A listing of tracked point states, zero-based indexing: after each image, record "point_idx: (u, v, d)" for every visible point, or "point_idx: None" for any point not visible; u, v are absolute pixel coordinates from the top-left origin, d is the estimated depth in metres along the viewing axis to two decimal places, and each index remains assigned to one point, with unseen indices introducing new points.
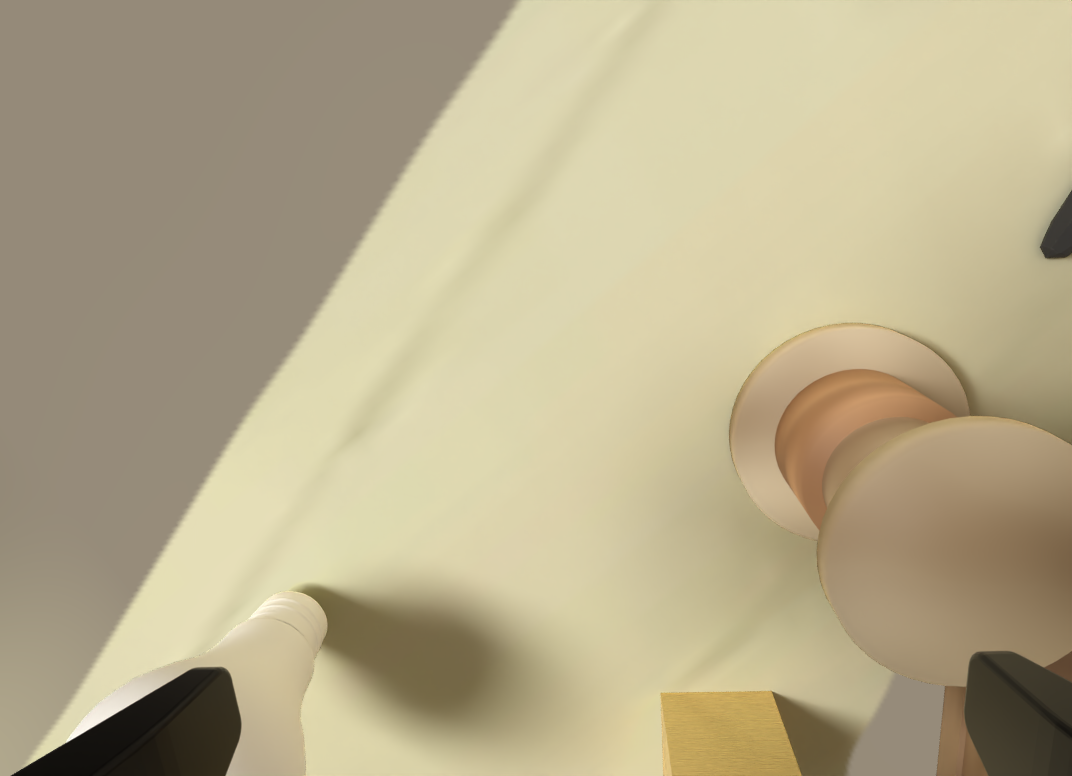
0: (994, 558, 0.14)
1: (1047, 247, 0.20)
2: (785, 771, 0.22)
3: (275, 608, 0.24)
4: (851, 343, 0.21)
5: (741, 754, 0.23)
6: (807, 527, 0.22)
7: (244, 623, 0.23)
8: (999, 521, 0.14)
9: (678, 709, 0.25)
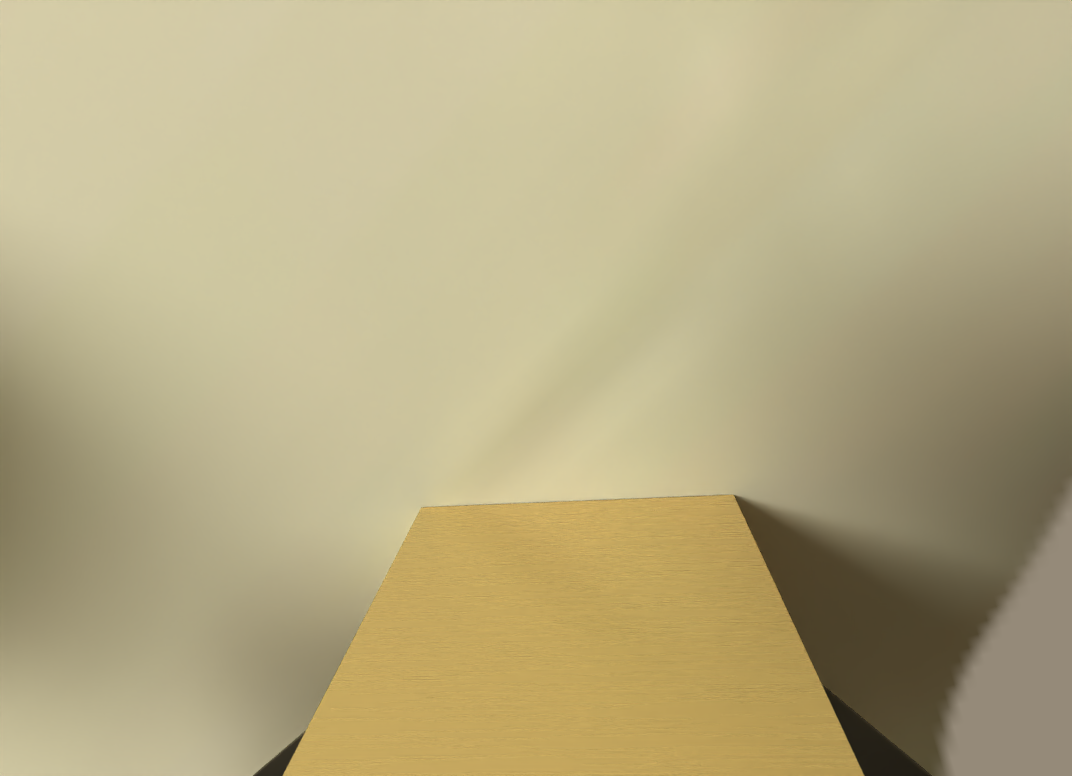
0: None
1: None
2: (767, 700, 0.05)
3: None
4: None
5: (602, 646, 0.06)
6: None
7: None
8: None
9: (450, 538, 0.08)
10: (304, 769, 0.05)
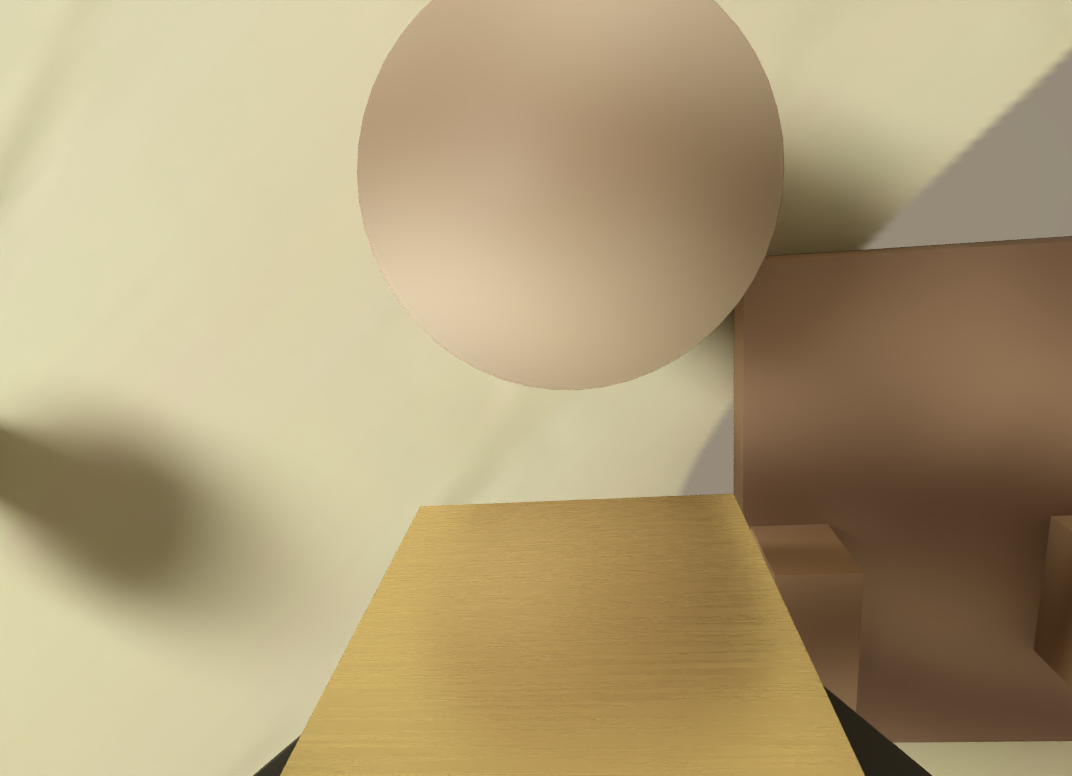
0: (588, 173, 0.10)
1: None
2: (767, 699, 0.05)
3: None
4: None
5: (602, 644, 0.06)
6: None
7: None
8: (587, 109, 0.10)
9: (449, 537, 0.08)
10: (301, 768, 0.05)
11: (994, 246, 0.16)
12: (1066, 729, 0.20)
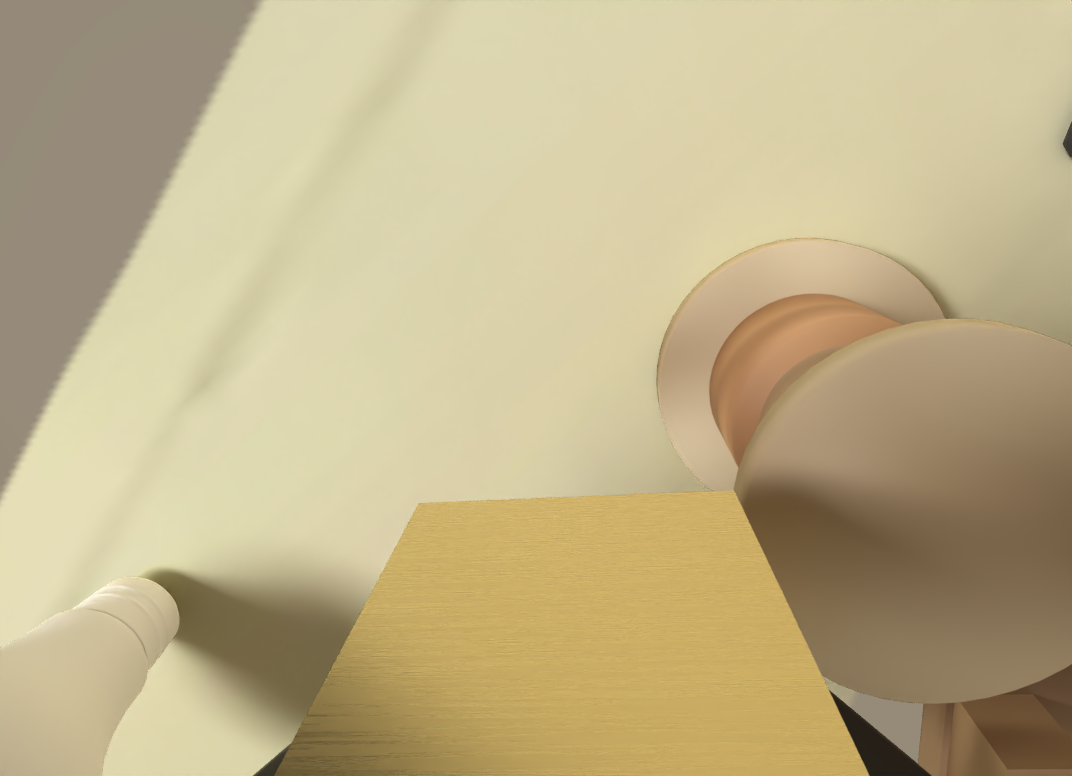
0: (976, 523, 0.10)
1: None
2: (769, 696, 0.05)
3: (104, 597, 0.19)
4: (803, 260, 0.16)
5: (602, 640, 0.06)
6: None
7: (55, 616, 0.18)
8: (984, 469, 0.10)
9: (447, 534, 0.08)
10: (298, 766, 0.05)
11: None
12: None
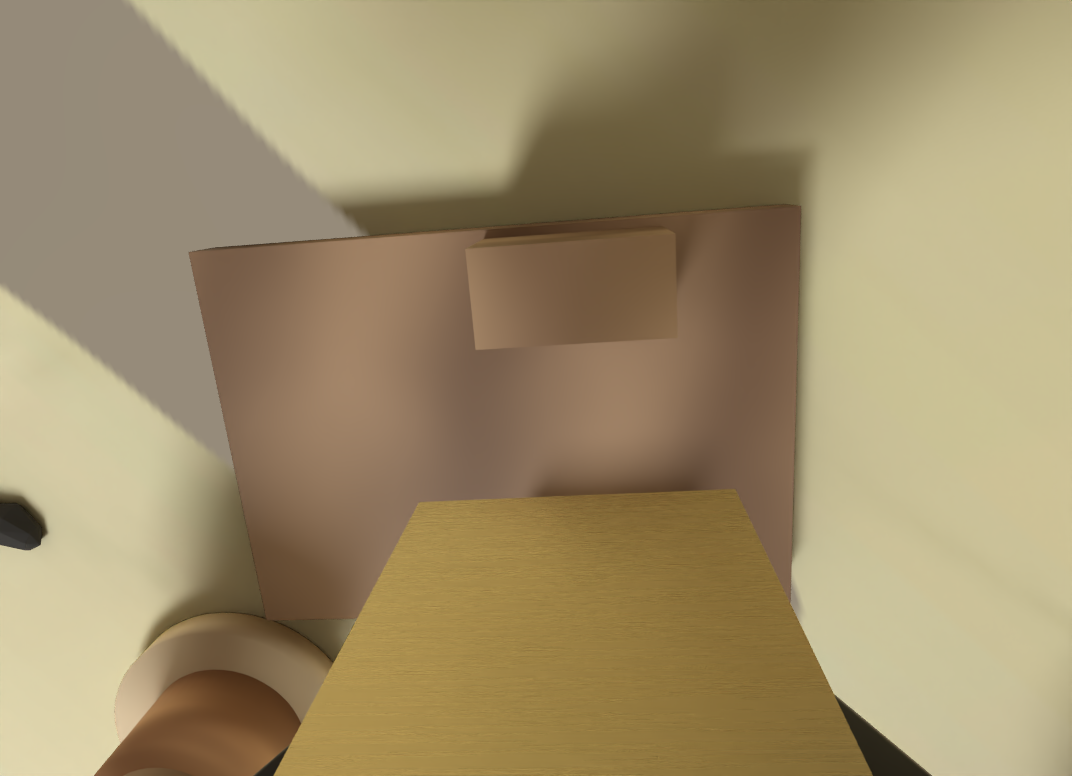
0: None
1: (27, 549, 0.20)
2: (771, 695, 0.05)
3: None
4: None
5: (603, 639, 0.06)
6: None
7: None
8: None
9: (448, 532, 0.08)
10: (297, 766, 0.05)
11: (226, 420, 0.18)
12: (781, 255, 0.15)
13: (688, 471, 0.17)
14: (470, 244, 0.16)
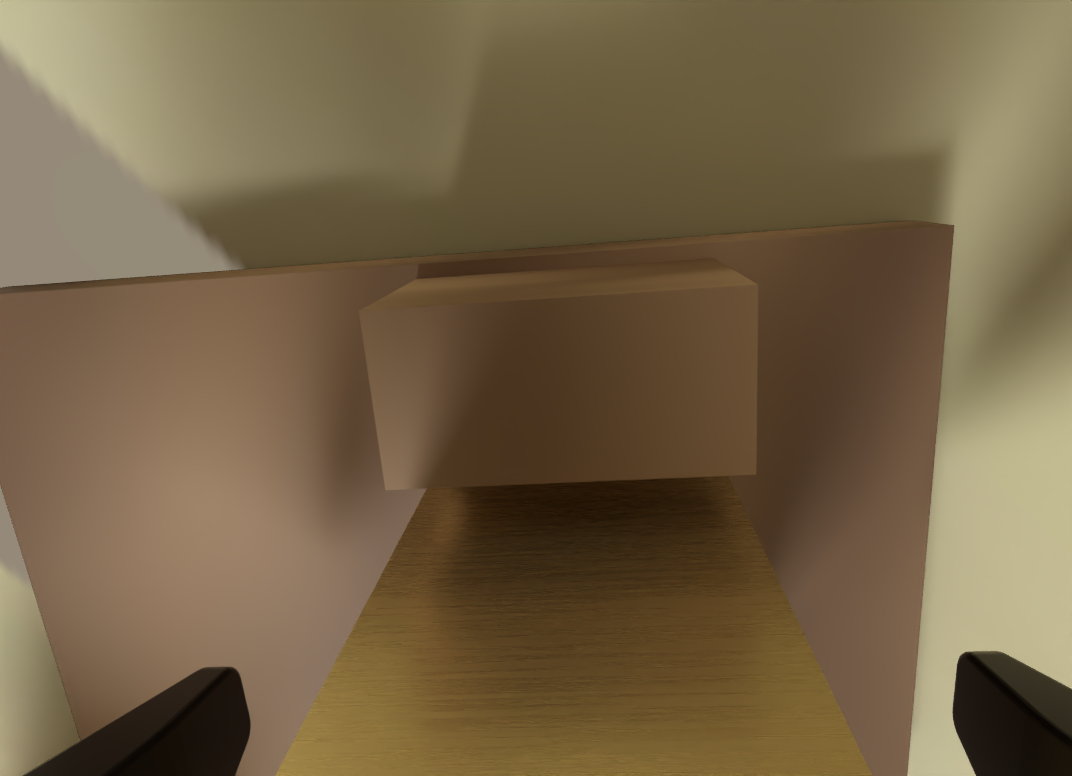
0: None
1: None
2: (734, 594, 0.06)
3: None
4: None
5: (600, 560, 0.07)
6: None
7: None
8: None
9: (466, 487, 0.09)
10: (357, 647, 0.06)
11: (27, 554, 0.11)
12: (915, 309, 0.09)
13: None
14: (394, 288, 0.10)
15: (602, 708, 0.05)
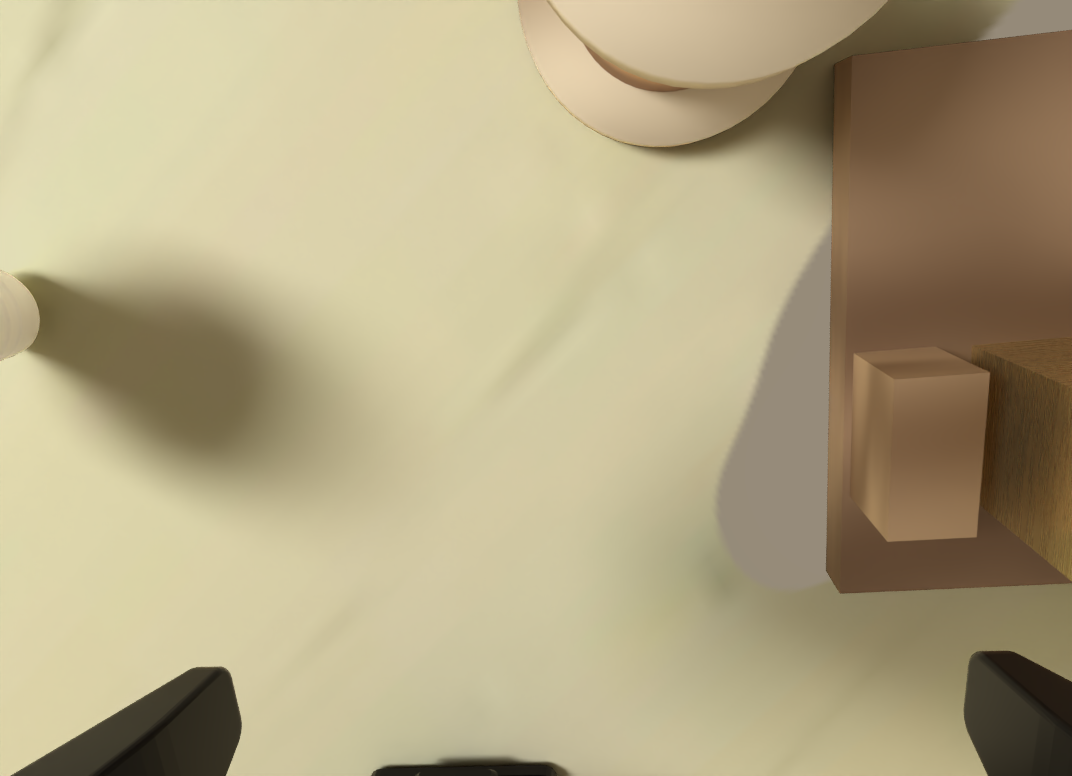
0: None
1: None
2: None
3: None
4: None
5: None
6: (623, 123, 0.17)
7: None
8: None
9: None
10: None
11: None
12: None
13: None
14: None
15: None
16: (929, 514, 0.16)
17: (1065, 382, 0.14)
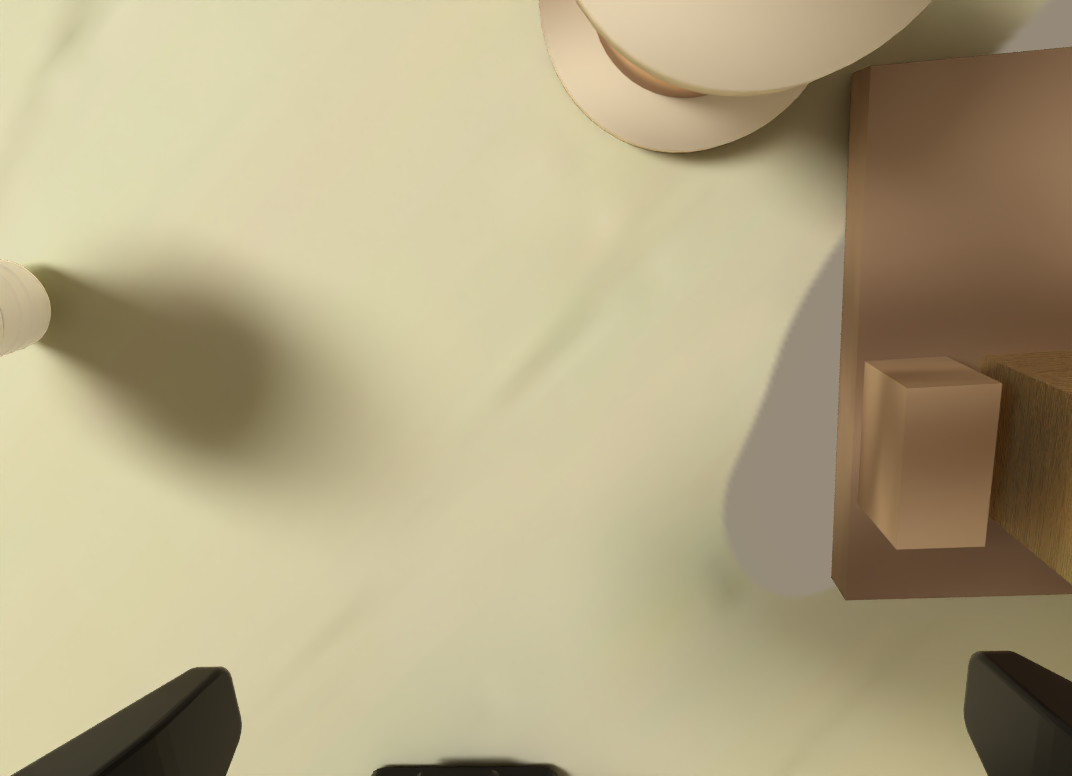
0: None
1: None
2: None
3: None
4: None
5: None
6: (641, 128, 0.17)
7: None
8: None
9: None
10: None
11: None
12: None
13: None
14: None
15: None
16: (938, 523, 0.16)
17: None
